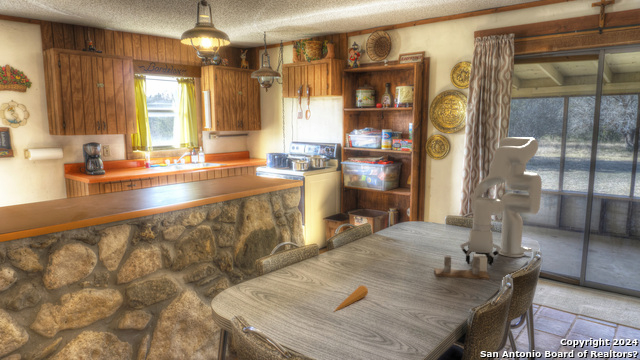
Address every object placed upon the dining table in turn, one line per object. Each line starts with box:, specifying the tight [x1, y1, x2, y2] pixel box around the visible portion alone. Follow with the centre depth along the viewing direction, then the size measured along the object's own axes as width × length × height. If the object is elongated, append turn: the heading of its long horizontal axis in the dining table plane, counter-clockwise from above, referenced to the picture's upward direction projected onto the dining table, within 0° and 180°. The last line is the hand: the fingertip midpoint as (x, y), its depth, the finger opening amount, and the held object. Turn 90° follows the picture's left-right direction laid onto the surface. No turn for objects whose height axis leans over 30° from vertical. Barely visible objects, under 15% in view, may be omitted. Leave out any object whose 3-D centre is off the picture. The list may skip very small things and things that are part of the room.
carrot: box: [334, 285, 369, 312], centre depth 152 cm, size 20×4×4 cm, turn 140°
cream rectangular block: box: [472, 253, 488, 272], centre depth 186 cm, size 5×5×7 cm
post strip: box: [434, 254, 490, 280], centre depth 180 cm, size 22×7×8 cm, turn 79°
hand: (479, 264), depth 185 cm, fingers open, 9 cm apart
